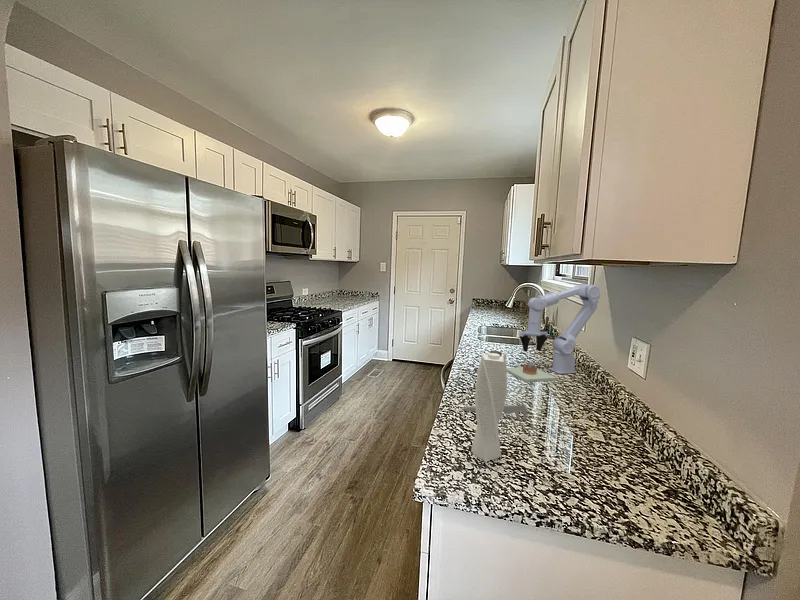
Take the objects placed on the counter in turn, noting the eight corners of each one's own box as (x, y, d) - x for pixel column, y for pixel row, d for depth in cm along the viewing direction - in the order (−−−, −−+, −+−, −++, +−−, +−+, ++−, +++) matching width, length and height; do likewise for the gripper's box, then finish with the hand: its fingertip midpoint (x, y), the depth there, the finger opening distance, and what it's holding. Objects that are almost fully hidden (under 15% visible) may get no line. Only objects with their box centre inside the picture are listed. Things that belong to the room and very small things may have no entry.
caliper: (525, 421, 107) (527, 402, 106) (525, 422, 106) (527, 403, 105) (461, 409, 113) (462, 391, 113) (461, 410, 112) (462, 392, 112)
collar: (531, 370, 156) (531, 364, 156) (538, 374, 151) (539, 368, 150) (520, 371, 155) (521, 364, 154) (528, 375, 149) (528, 368, 149)
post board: (532, 369, 163) (533, 357, 162) (556, 380, 148) (557, 367, 147) (504, 370, 158) (505, 358, 158) (525, 382, 143) (527, 369, 142)
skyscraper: (508, 459, 84) (518, 351, 81) (486, 467, 80) (496, 353, 77) (486, 444, 91) (494, 343, 88) (465, 450, 87) (472, 345, 84)
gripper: (527, 324, 153) (524, 353, 154) (553, 324, 157) (550, 352, 159) (517, 321, 160) (515, 349, 161) (542, 321, 164) (540, 348, 165)
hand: (532, 350), depth 160 cm, fingers open, 7 cm apart
